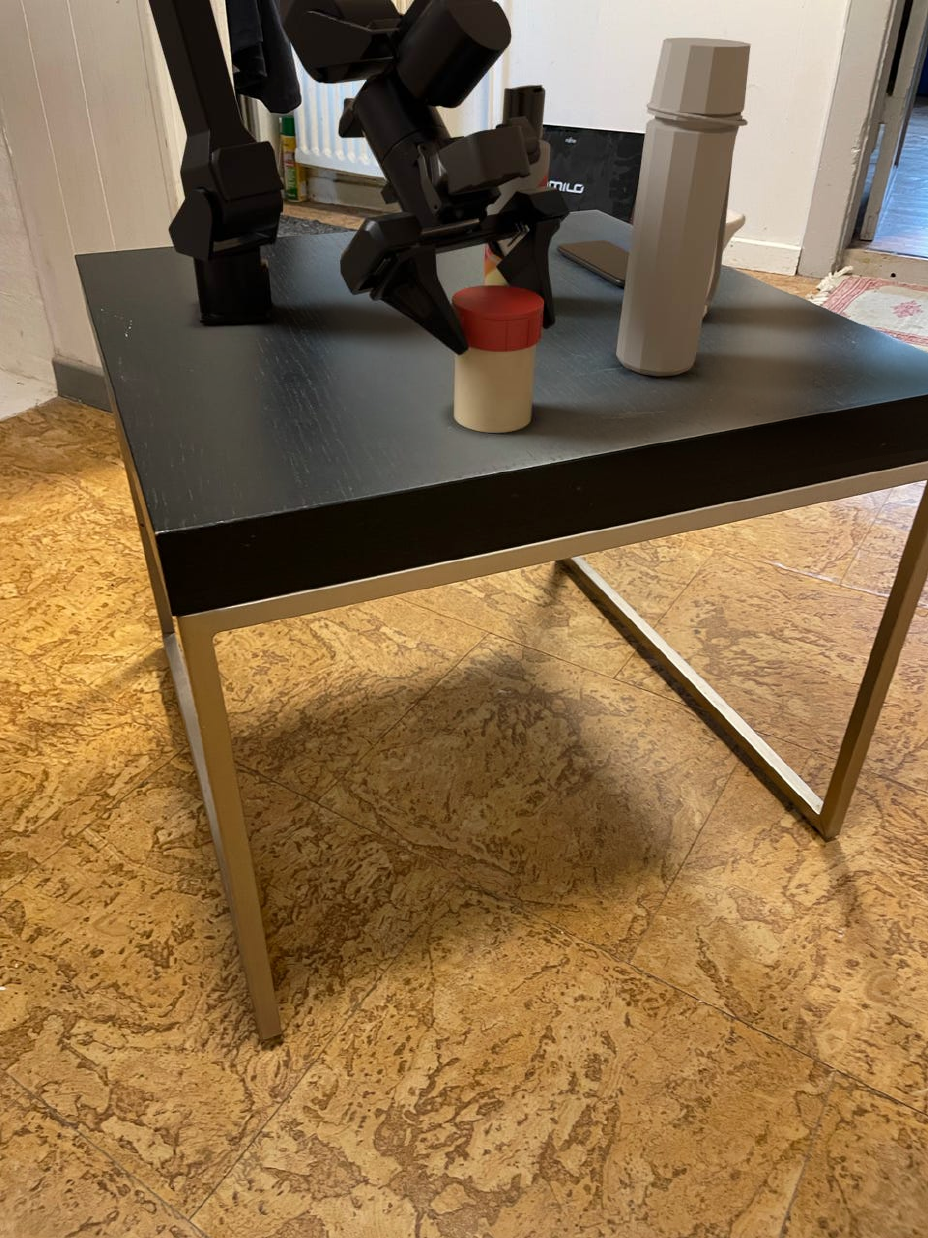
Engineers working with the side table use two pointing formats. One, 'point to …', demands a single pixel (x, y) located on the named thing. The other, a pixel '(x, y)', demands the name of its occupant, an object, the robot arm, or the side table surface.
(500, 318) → the jar lid
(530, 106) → the lotion bottle
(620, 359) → the water bottle
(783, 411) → the side table surface
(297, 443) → the side table surface
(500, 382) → the jar
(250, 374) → the side table surface
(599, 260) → the smartphone
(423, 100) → the robot arm
